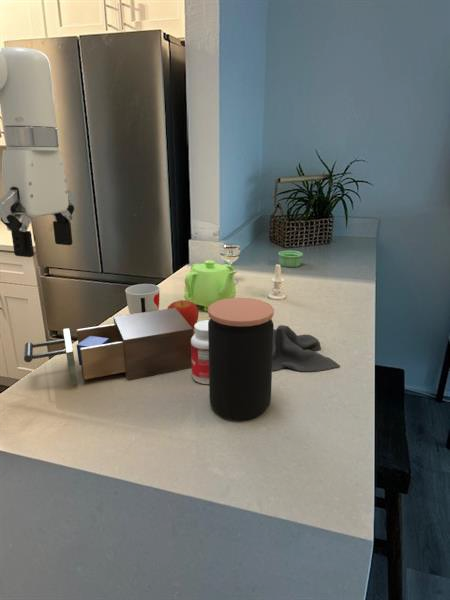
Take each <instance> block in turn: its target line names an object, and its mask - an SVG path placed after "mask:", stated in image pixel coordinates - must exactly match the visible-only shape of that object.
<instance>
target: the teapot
mask: <svg viewBox="0 0 450 600" xmlns="http://www.w3.org/2000/svg"><path fill="white" fill-rule="evenodd" d="M236 273H238V270H234V267H233V266H230V265H229V263H228V264H220V263H217V262H216V261H215V260H214V259H213V260H212V259H207V260H204V263H193V264H192V265H191V266H190V270H189V272H188V273H187V274H186V275H185V276H184V295H183V297H184V300H186V301H190V302H193V303H194V304H195V305H196V306H202V307H203V311H204V312H208V308H209V306H210V305H211V304H212V303H214V302H216V301H219V300H223V299H228V298H236V295H237V289H236V284H235V283H234V280H235V279H234V277H235V274H236Z"/></svg>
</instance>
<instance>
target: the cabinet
mask: <svg viewBox="0 0 450 600" xmlns="http://www.w3.org/2000/svg"><path fill="white" fill-rule="evenodd" d="M113 324H116V326H117V329H118V331H119V333H120V336H121V338H122V340H123V344H124V355H125V365H126V372H123V373H124V375H125V378H126V381H131V380H136V379H137V380H138V379H141V378H142V379H143V378H146V377H151V376H156V375H157V376H158V375H161V374H167V373H171V372H172V373H173V372H178V371H181V370H187V369H192V359H191V338H192V336H193V335H194V330H193V328H192V327H191V326H190V325H189V323H188V322H187V321H186V320H185V319H184V317H183V316H182V315H181V314H180V313H179V311H178V310H177V309H176V308H170V309H168V308H164V309H159V310H156V311H149V312H143V313H136V314H130V313H129V314H123V315H115V316H113Z"/></svg>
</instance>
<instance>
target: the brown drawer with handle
mask: <svg viewBox="0 0 450 600" xmlns="http://www.w3.org/2000/svg"><path fill="white" fill-rule="evenodd" d="M62 333H63V338H62V339H56V340H49V341H43V342H37V343H32V342H31V341H30V342H29V341H28V342H26V343H25V344H24V352H23V360H24V362H26V363H31V362H32V361H33V360H36V359H42V358H48V357H54V356H55V357H56V356H61V355H66V362H67V368H68V376H69V383H70V386H76V385H78V375H77V370H76V363H75V354H74V348H73V342H72V337H71V330H70V328H69V327H68V328H62ZM89 336H95V337H102V338H109V342H110V343H108V344H102V345H96V346H90V347H84V348H80V351H81V358H82V366H81V369H82V374H83V379H84V380H90V379H95V378H101V377H106V376H110V375H111V376H112V375H117V374H123V373H124V372H126V365H125V355H124V344H123V340H122V338H121V336H120V333H119V331H118V329H117V326H116V324H114V323H111V324H103V325H98V326H90V327H84V328H83V327H82V328H78V329H77V328H76V338H77V342H78V343H77V344H79V343H80V342H81V341H83V340H84V339H86V338H87V337H89ZM59 344H60V345H61V344H64V347H65V349H60V350H53V351H47V352H42V353H37V354H33V353H34V349H35V348H40V347H41V348H42V347H48V346H53V345H59Z"/></svg>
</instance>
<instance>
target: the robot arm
mask: <svg viewBox="0 0 450 600" xmlns="http://www.w3.org/2000/svg"><path fill="white" fill-rule="evenodd" d="M51 68H52V67H51V62H50V60H49V57H48V56H47V55H46V54H45V53H43V52H42V51H40V50H38V49H34V48H30V47H21V46H3V47H0V113H1V120H2V121H1V122H2V126H3V135H4V142H5V149H2V157H1V186H2V187H1V188H2V197H1V198H0V221H1V222H2V223H3V225H5V226H6V229H7V231H9V232H11V239H12V246H13V252H14V256H16V257H21V258H23V257H24V258H32V257H34V255H35V252H34V247H33V246H34V244H33V238H32V232H31V230H28V229H29V227H30V225H31V222H32V219H33V218H39V217H45V216H52V217H53V218H54V221H52V227H53V235H54V236H53V237H54V243H55V244H56V245H61V246H72V245H73V233H72V223H71V222H72V221H73V213H74V211H75V203H76V198H77V197H76V194H75V193H74V192H72V191H70V190H69V189H68V184H67V177H66V172H65V168H64V162H63V158H62V155H61V151H60V146H59V145H60V144H59V136H58V129H57V128H58V127H57V115H56V108H55V107H56V105H55V97H54V88H53V78H52V69H51ZM20 219H21V221H20Z"/></svg>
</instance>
